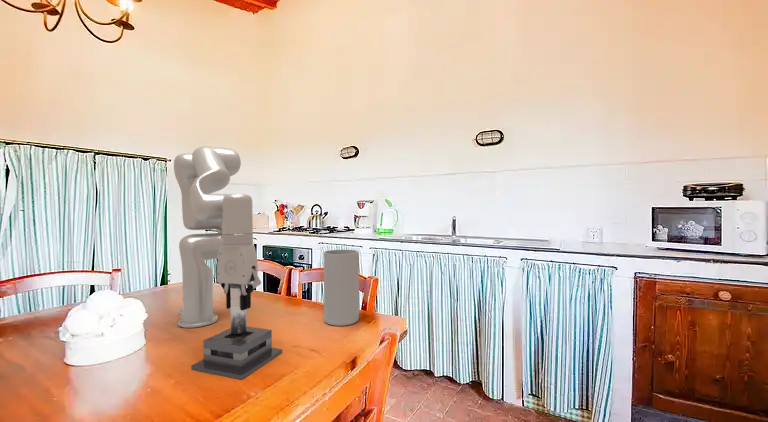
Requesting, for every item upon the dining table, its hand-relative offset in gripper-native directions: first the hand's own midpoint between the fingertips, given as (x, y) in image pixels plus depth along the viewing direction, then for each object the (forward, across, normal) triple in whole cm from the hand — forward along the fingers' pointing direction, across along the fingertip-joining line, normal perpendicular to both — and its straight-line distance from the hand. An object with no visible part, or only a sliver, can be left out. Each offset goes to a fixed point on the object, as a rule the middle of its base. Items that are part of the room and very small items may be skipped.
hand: (238, 307), depth 93 cm
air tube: (+6, 0, 0) cm, 6 cm away
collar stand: (+14, 0, 0) cm, 14 cm away
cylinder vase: (+15, +12, +38) cm, 43 cm away
